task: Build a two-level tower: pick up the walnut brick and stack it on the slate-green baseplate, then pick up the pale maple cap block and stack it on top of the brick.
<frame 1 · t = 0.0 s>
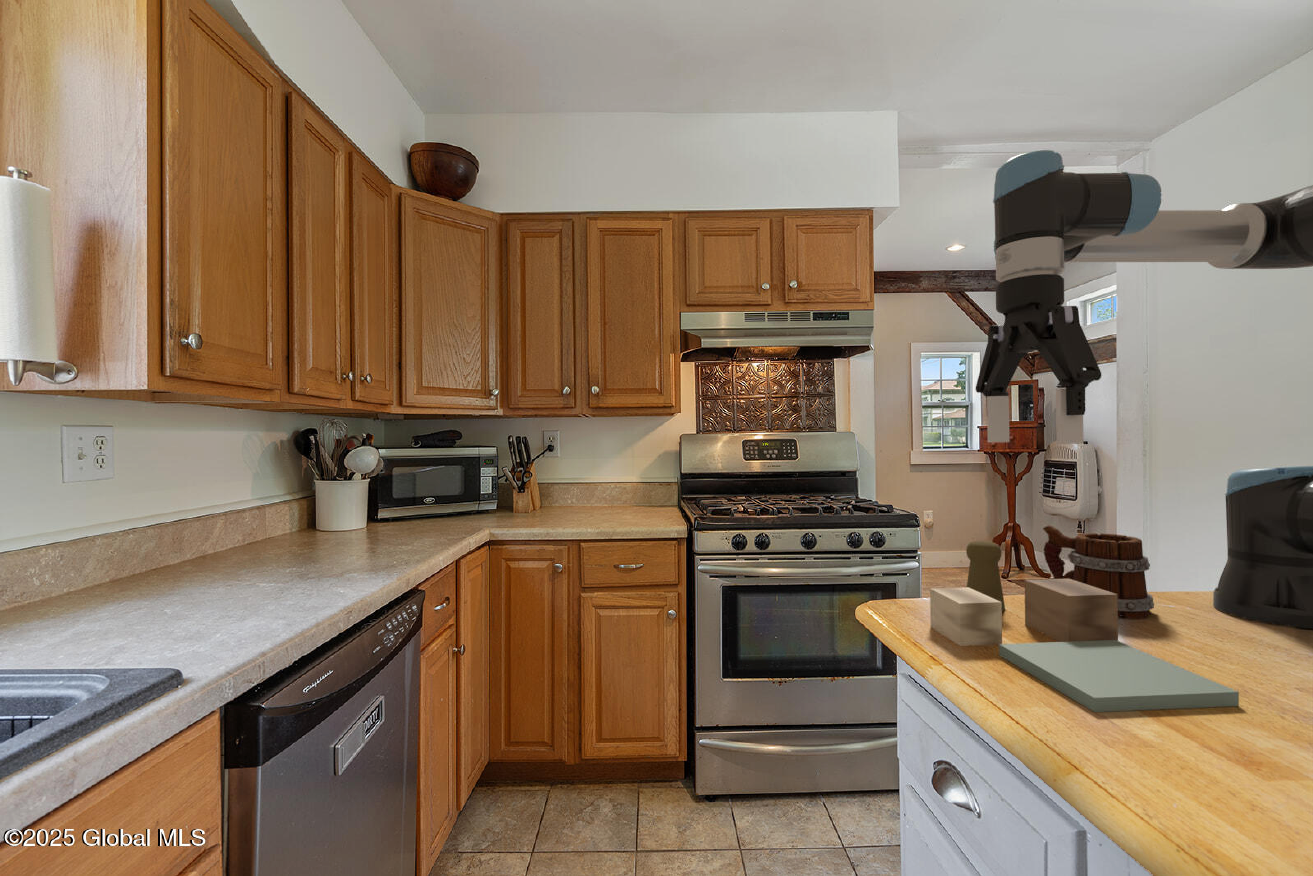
hand: (1031, 443, 77), 28 cm above the countertop, fingers open, 13 cm apart
baseplate: (1106, 678, 71), on the countertop
walnut brick: (1069, 635, 86), on the countertop
mug: (1096, 608, 99), on the countertop
olive pepper shaker: (984, 608, 100), on the countertop
maple cap block: (964, 636, 86), on the countertop
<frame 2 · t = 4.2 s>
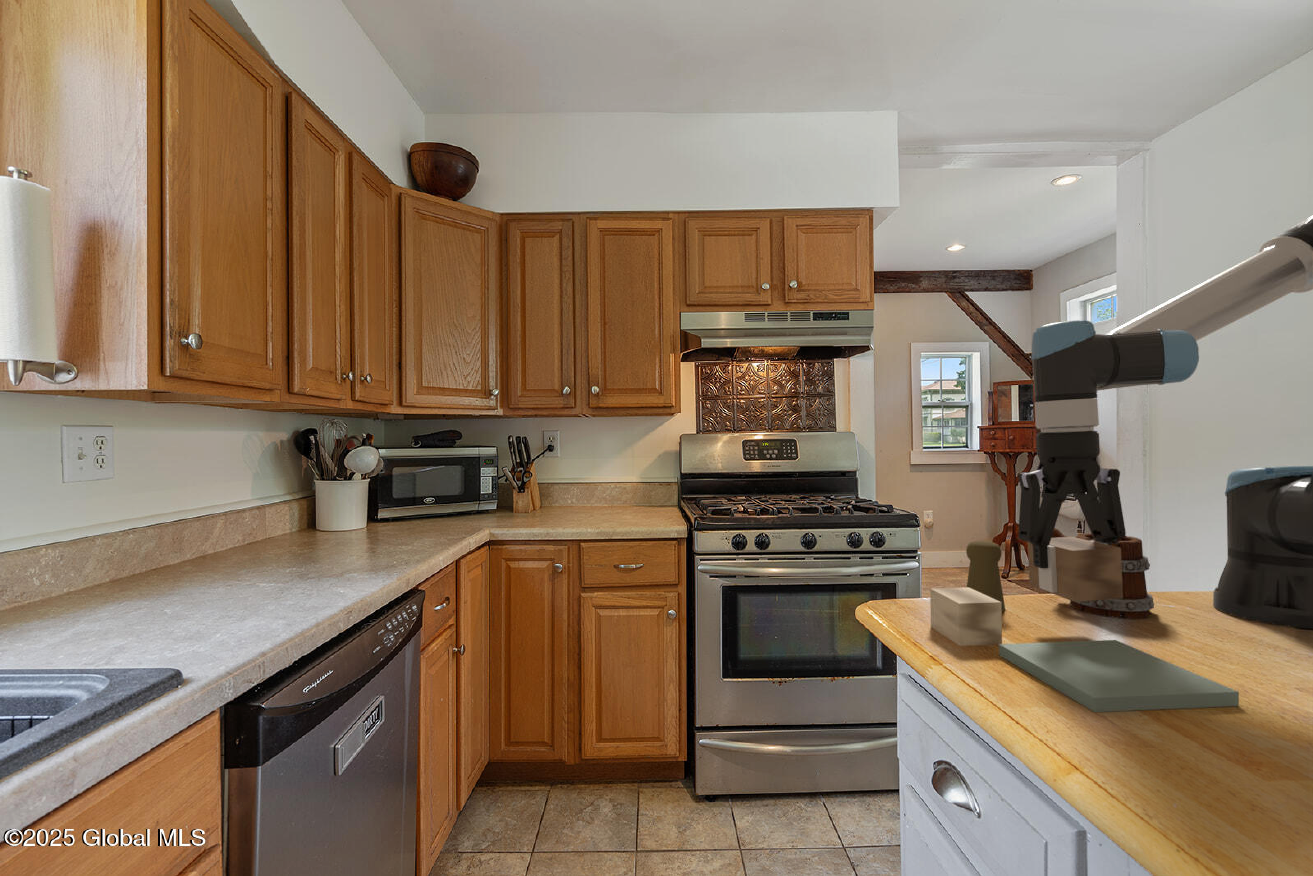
hand: (1074, 588, 86), 7 cm above the countertop, fingers closed on walnut brick, 7 cm apart
walnut brick: (1073, 591, 86), point 6 cm above the countertop, touching gripper
everything else where it was.
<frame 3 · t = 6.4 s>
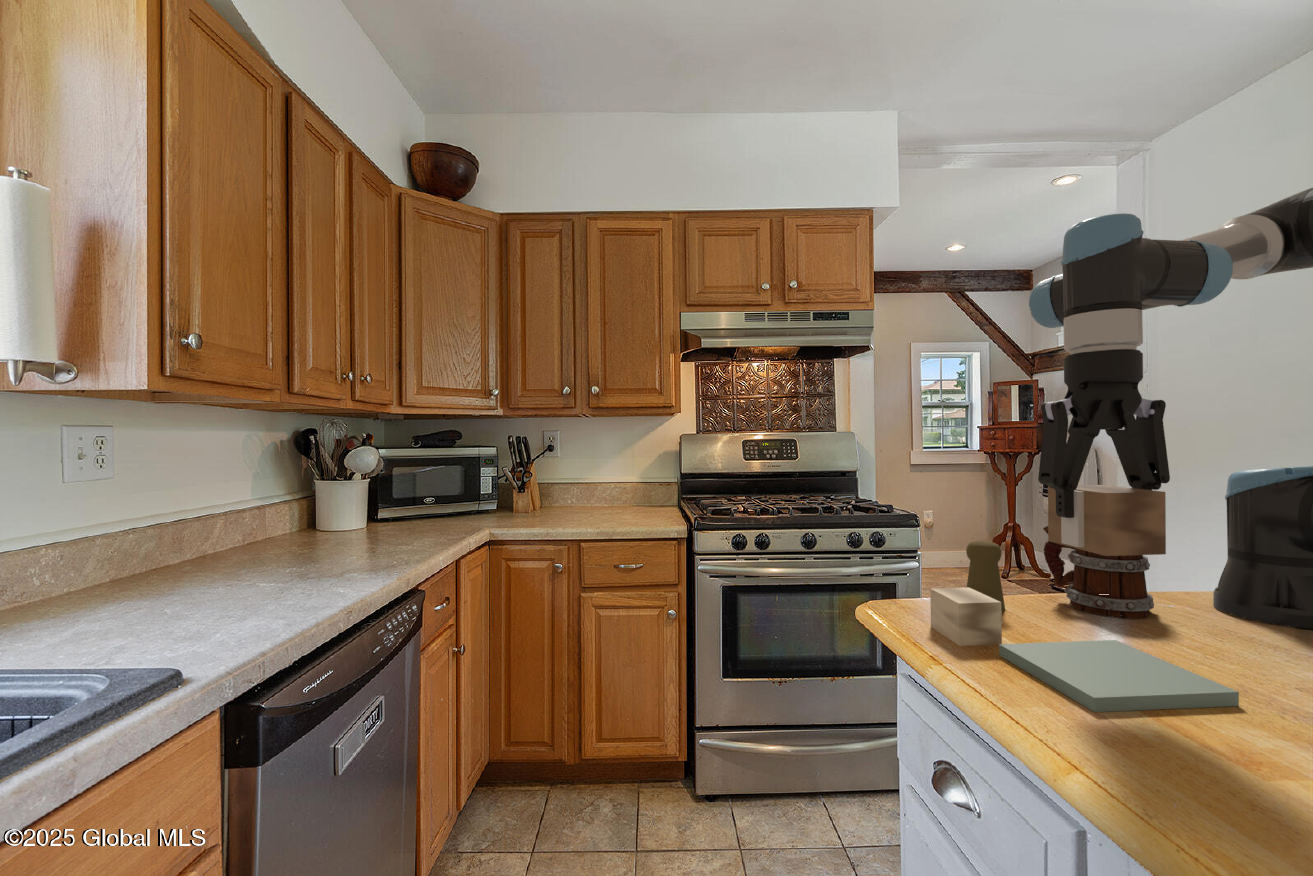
hand: (1104, 544, 71), 16 cm above the countertop, fingers closed on walnut brick, 7 cm apart
walnut brick: (1103, 547, 71), point 16 cm above the countertop, touching gripper
everything else where it was.
when the fingers open (3 cm above the countertop, at t = 9.0 s): walnut brick drops 1 cm, resting on baseplate.
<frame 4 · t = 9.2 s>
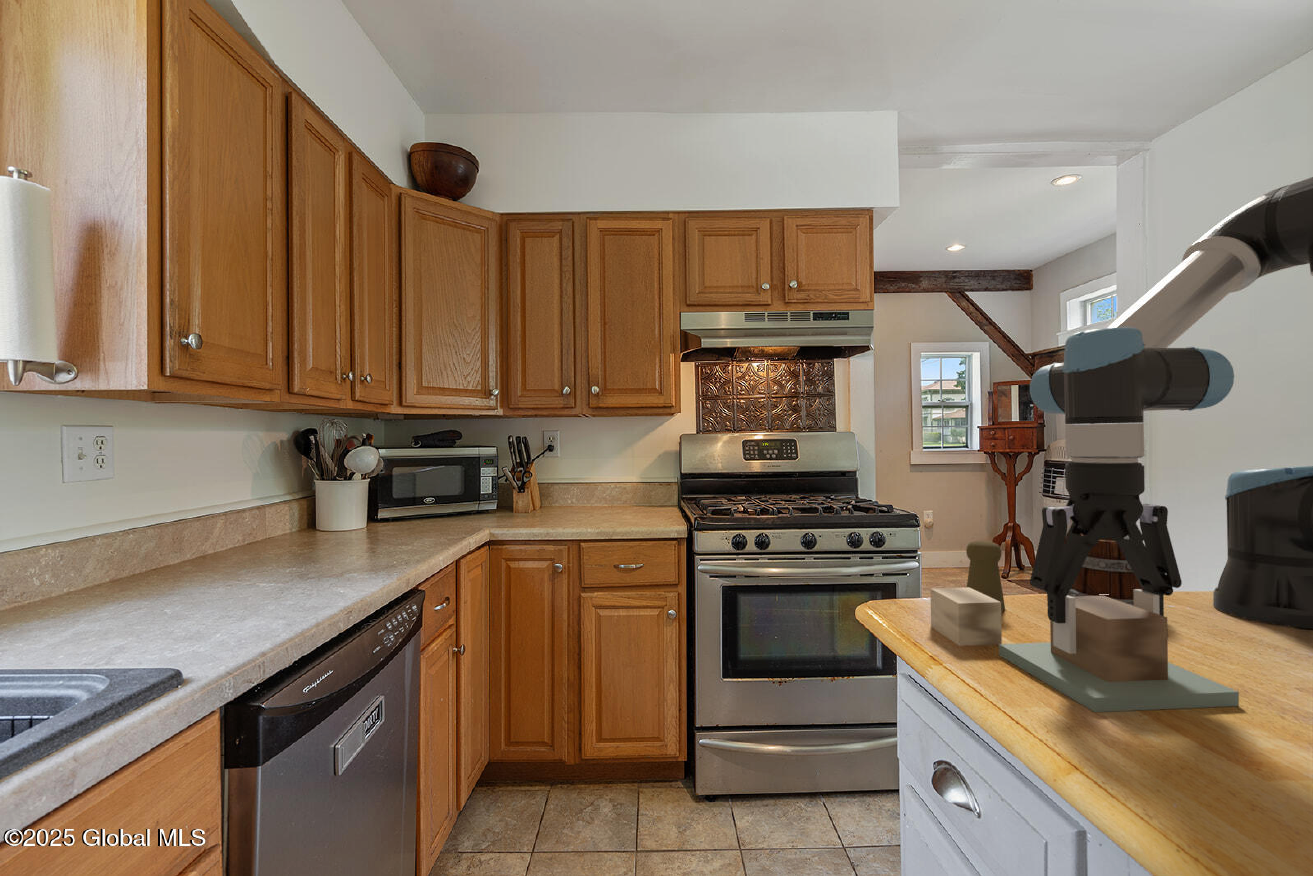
hand: (1105, 648, 71), 4 cm above the countertop, fingers open, 9 cm apart
walnut brick: (1105, 665, 71), point 1 cm above the countertop, touching baseplate
everything else where it was.
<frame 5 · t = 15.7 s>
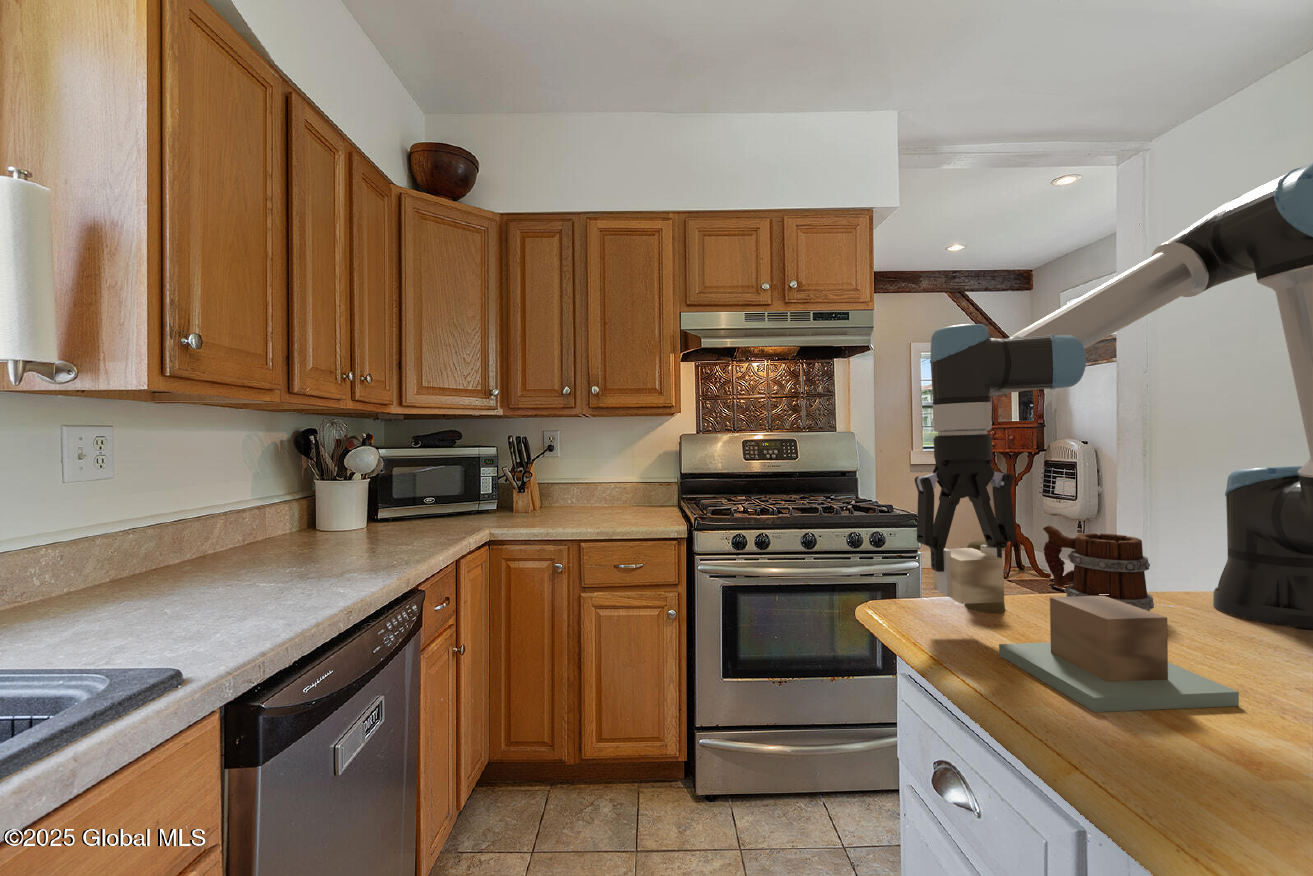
hand: (967, 592, 86), 6 cm above the countertop, fingers closed on maple cap block, 6 cm apart
maple cap block: (967, 595, 86), point 6 cm above the countertop, touching gripper
everything else where it was.
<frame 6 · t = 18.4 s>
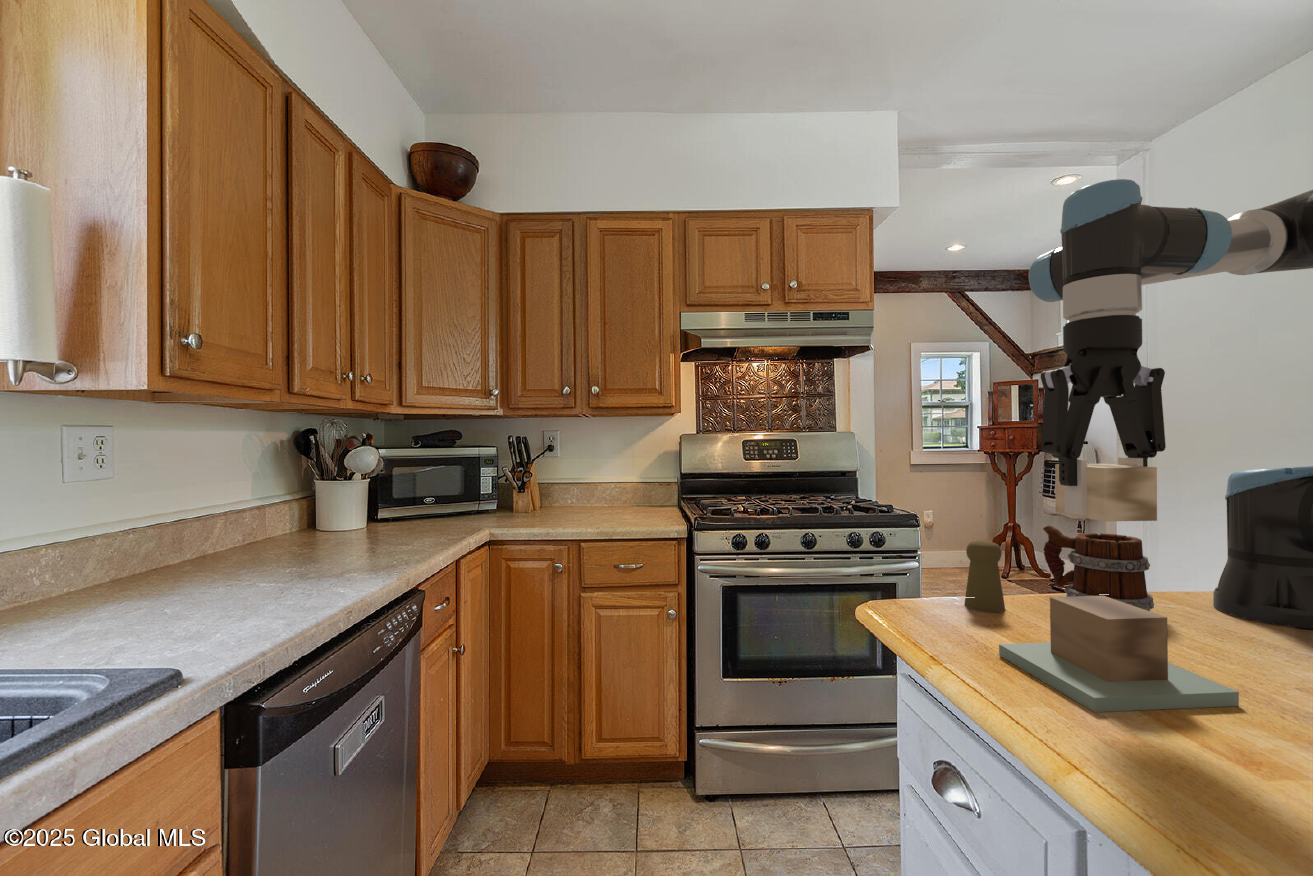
hand: (1103, 512, 71), 20 cm above the countertop, fingers closed on maple cap block, 6 cm apart
maple cap block: (1103, 516, 71), point 19 cm above the countertop, touching gripper
everything else where it was.
when the fingers open (9 cm above the countertop, at t = 21.2 s): maple cap block stays where it is, resting on walnut brick.
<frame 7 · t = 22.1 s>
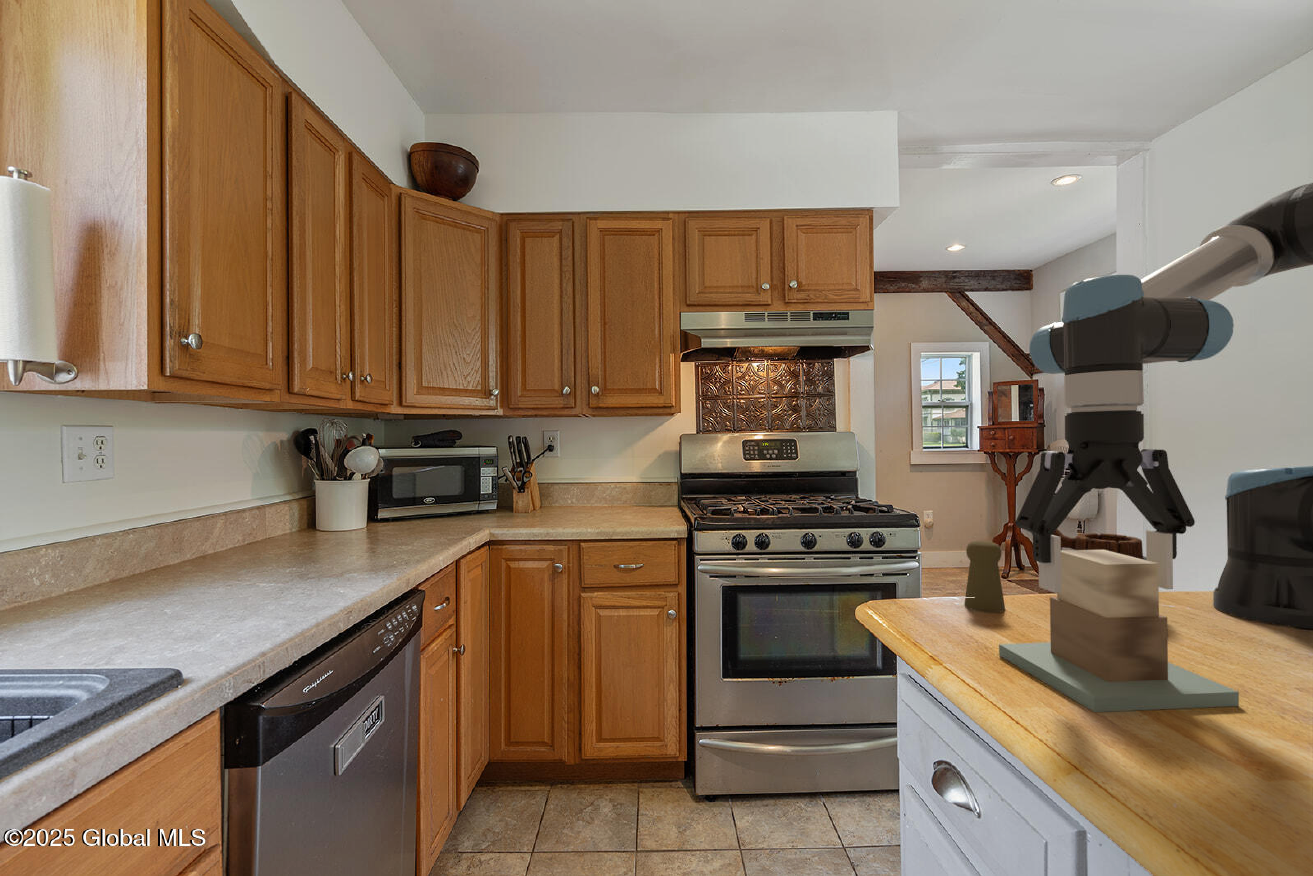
hand: (1105, 588, 71), 11 cm above the countertop, fingers open, 13 cm apart
walnut brick: (1105, 665, 71), point 1 cm above the countertop, touching baseplate, maple cap block
maple cap block: (1105, 606, 71), point 8 cm above the countertop, touching walnut brick
everything else where it was.
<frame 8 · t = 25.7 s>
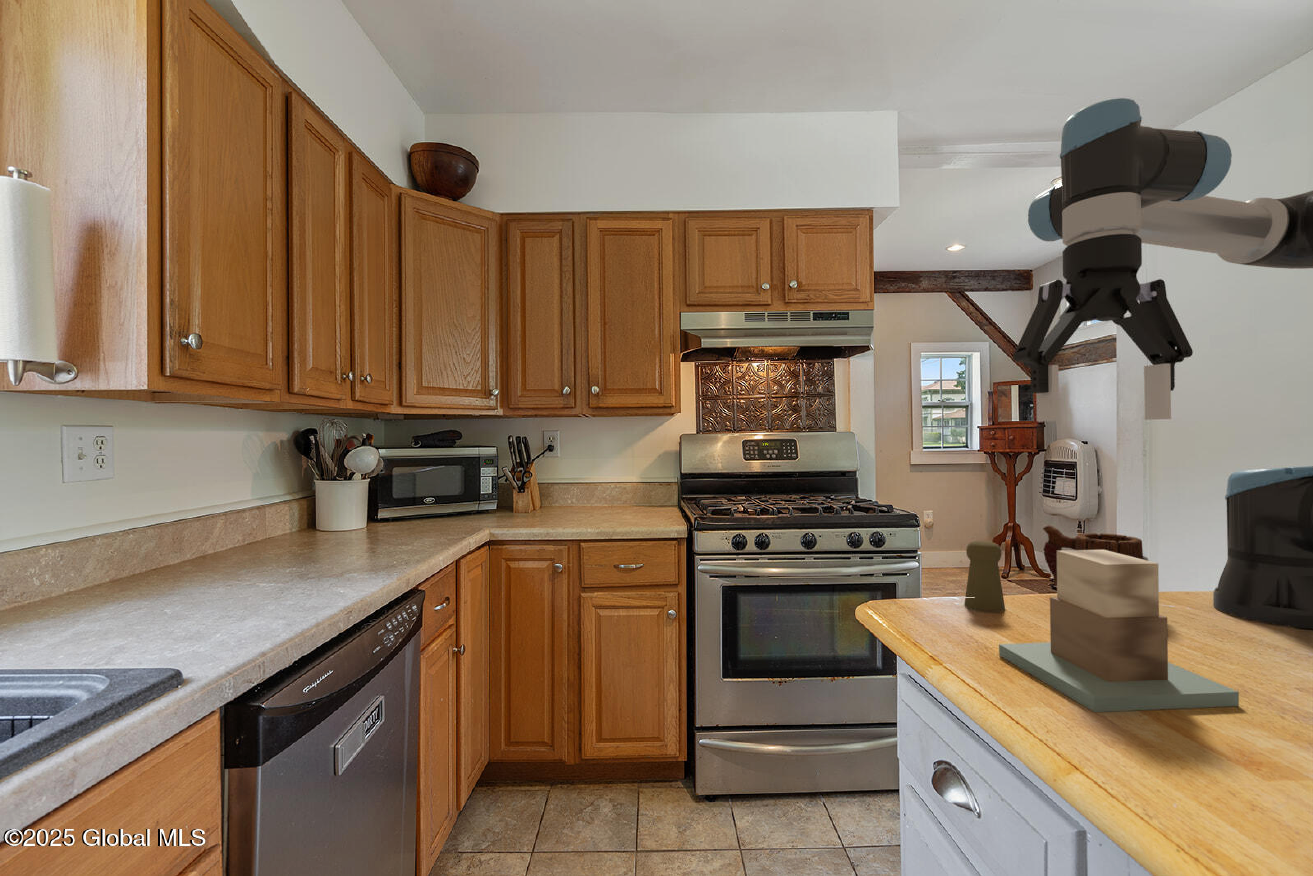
hand: (1102, 420, 71), 31 cm above the countertop, fingers open, 13 cm apart
nothing on the countertop moved.
at the end: walnut brick 0.1 cm off-centre on the baseplate, point 1.5 cm above the baseplate's base; maple cap block 0.1 cm off-centre on the walnut brick, point 7.0 cm above the walnut brick's base; maple cap block tilted 0° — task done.
